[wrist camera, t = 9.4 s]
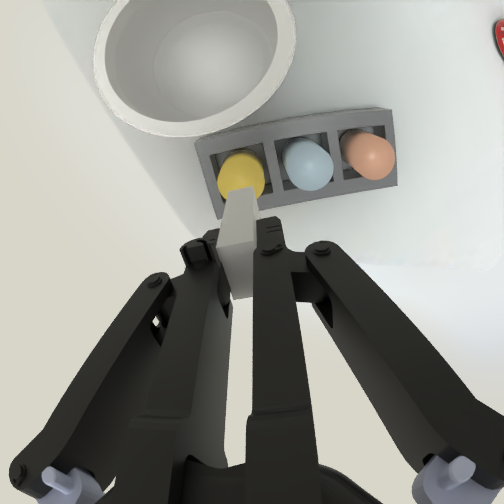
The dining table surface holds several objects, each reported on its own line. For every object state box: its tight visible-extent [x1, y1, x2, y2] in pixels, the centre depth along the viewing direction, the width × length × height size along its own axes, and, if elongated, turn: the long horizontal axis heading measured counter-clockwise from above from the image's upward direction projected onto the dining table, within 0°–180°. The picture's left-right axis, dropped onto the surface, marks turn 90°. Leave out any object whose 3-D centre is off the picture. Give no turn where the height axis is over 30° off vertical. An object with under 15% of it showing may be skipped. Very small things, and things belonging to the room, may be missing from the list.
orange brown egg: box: [339, 129, 395, 180], centre depth 24 cm, size 4×4×5 cm
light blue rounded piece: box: [281, 137, 334, 191], centre depth 25 cm, size 4×4×5 cm
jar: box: [93, 0, 296, 138], centre depth 17 cm, size 11×10×15 cm
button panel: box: [195, 108, 398, 220], centre depth 27 cm, size 8×19×3 cm, turn 103°
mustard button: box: [217, 149, 265, 200], centre depth 26 cm, size 4×4×5 cm
